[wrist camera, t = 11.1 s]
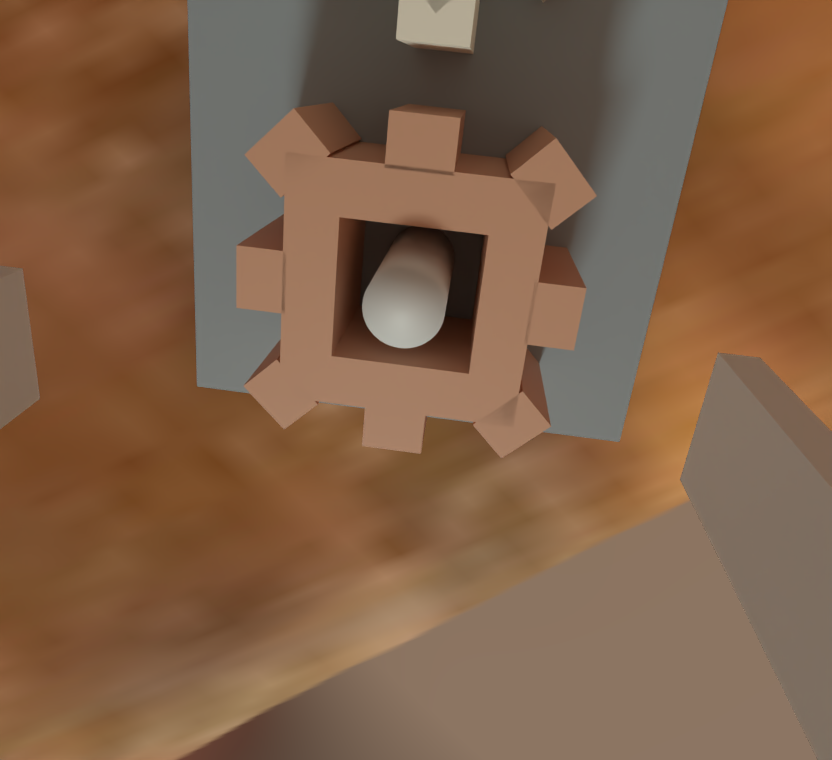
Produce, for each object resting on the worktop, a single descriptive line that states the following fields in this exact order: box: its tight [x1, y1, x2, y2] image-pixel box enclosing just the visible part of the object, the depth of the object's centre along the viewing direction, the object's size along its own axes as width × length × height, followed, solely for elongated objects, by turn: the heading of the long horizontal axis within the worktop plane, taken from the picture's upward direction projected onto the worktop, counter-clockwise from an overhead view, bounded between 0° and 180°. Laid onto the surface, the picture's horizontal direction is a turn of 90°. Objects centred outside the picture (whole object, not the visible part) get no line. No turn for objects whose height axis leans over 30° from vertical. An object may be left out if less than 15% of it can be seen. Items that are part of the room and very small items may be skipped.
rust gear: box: [236, 102, 597, 458], centre depth 22 cm, size 10×10×5 cm
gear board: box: [188, 0, 728, 442], centre depth 20 cm, size 24×16×8 cm, turn 174°
